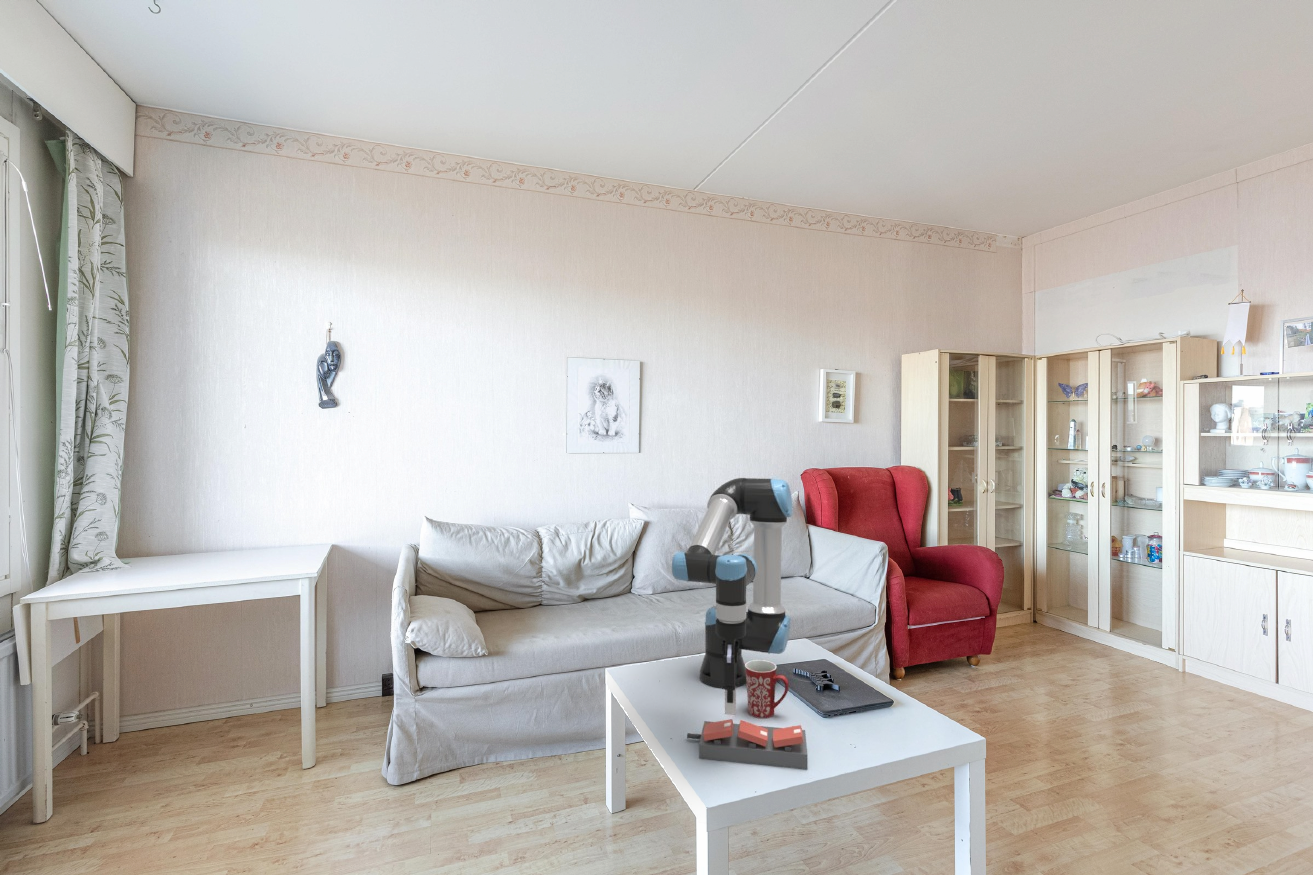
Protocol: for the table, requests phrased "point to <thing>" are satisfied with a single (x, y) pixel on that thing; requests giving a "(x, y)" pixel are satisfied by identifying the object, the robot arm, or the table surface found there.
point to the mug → (762, 687)
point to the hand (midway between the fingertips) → (730, 713)
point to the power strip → (752, 750)
